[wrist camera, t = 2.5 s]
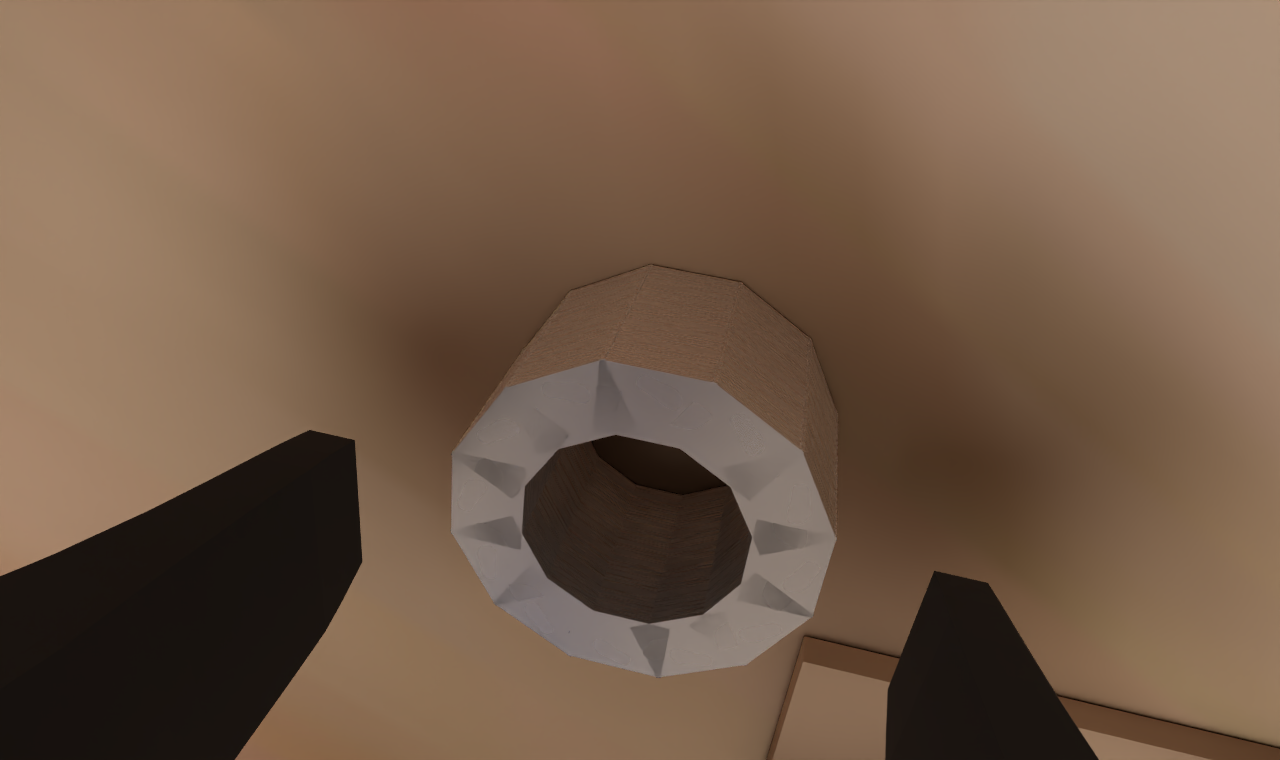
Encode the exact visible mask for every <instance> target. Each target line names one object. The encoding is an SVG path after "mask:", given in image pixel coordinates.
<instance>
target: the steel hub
mask: <svg viewBox="0 0 1280 760" xmlns="http://www.w3.org/2000/svg"><path fill="white" fill-rule="evenodd" d="M612 435H619V436H624V437H629V438H633V439H638V440H643V441H647V442H652V443H656V444H661V445H666V446H670V447H675V448H680V449H681V450H682V451H684V452H685V453H686V454H688V455H689V456H690V457H691V458H693V459H694V460H695V461H697V462H698V463H699V464H701V465H702V466H703V467H705V468H706V469H707V470H709V471H710V472H711V473H713V474H714V475H715V476H717V477H718V478H719V479H720V480H722V481H723V482H724V483H726V484H727V486H723V487H718V488H714V489H709V490H705V491H700V492H696V493H691V494H687V495H679V494H674V493H670V492H665V491H661V490H656V489H652V488H647V487H643V486H638V485H636V484H634V483H633V482H632V481H630V480H629V479H628V478H626V477H625V476H624V475H622V474H621V473H619V472H618V471H617V470H615V469H614V468H613V467H611V466H610V465H609V464H607V463H606V462H605V461H603V460H602V459H601V458H599V457H598V455H597V453H596V451H595V449H594V447H593V444H592V442H591V441H592V440H596V439H600V438H604V437H608V436H612ZM451 455H452V510H451V530H450V531H451V534H453V536H454V537H455V539H456V541H457V542H458V544H459V546H460V547H461V549H462V551H463V552H464V554H465V555H466V557H467V559H468V560H469V562H470V564H471V565H472V567H473V569H474V570H475V572H476V574H477V575H478V577H479V579H480V580H481V582H482V584H483V585H484V587H485V589H486V590H487V592H488V594H489V595H490V597H491V598H492V600H493V603H494V604H495V605H497V606H499V607H500V608H501V609H503V610H504V611H506V612H507V613H509V614H510V615H511V616H513V617H514V618H516V619H517V620H519V621H520V622H522V623H523V624H524V625H526V626H527V627H529V628H530V629H532V630H533V631H535V632H536V633H537V634H539V635H540V636H542V637H543V638H545V639H546V640H548V641H549V642H550V643H552V644H553V645H555V646H556V647H558V648H559V649H561V650H562V651H563V652H565V653H566V654H567V655H569V656H574V657H578V658H582V659H586V660H590V661H594V662H598V663H602V664H606V665H610V666H614V667H618V668H622V669H626V670H630V671H634V672H638V673H642V674H646V675H651V676H655V677H656V678H658V677H659V678H661V677H665V676H672V675H679V674H686V673H693V672H700V671H707V670H714V669H721V668H728V667H735V666H742V665H744V666H745V665H748V663H749V662H751V661H752V660H753V659H755V658H756V657H758V656H759V655H760V654H762V653H763V652H764V651H766V650H767V649H769V648H770V647H771V646H773V645H774V644H775V643H777V642H778V641H779V640H781V639H782V638H784V637H785V636H786V635H788V634H789V633H790V632H792V631H793V630H795V629H796V628H797V627H799V626H800V625H801V624H803V623H804V622H806V621H807V620H808V619H810V618H812V616H814V610H815V606H816V603H817V600H818V597H819V593H820V590H821V587H822V584H823V580H824V577H825V574H826V571H827V567H828V564H829V561H830V558H831V554H832V551H833V548H834V545H835V541H837V482H838V412H837V411H836V408H835V405H834V403H833V400H832V397H831V394H830V391H829V389H828V386H827V383H826V380H825V377H824V375H823V372H822V369H821V366H820V364H819V361H818V358H817V355H816V352H815V350H814V347H813V344H812V339H810V337H808V336H807V335H805V334H804V333H803V332H802V331H800V330H799V329H798V328H797V327H796V326H794V325H793V324H792V323H791V322H789V321H788V320H787V319H786V318H784V317H783V316H782V315H781V314H780V313H778V312H777V311H776V310H775V309H773V308H772V307H771V306H770V305H768V304H767V303H766V302H765V301H763V300H762V299H761V298H760V297H759V296H757V295H756V294H755V293H754V292H752V291H751V290H750V289H749V288H747V287H746V286H745V285H744V284H743V282H740V281H739V282H737V281H732V280H727V279H722V278H717V277H711V276H706V275H701V274H696V273H691V272H686V271H680V270H675V269H670V268H665V267H660V266H654V265H653V264H651V265H649V264H648V266H645V267H642V268H639V269H636V270H633V271H630V272H627V273H624V274H621V275H618V276H615V277H612V278H608V279H605V280H602V281H599V282H596V283H593V284H590V285H587V286H584V287H581V288H578V289H575V290H571V291H569V292H568V293H567V295H566V296H565V298H564V299H563V301H562V302H561V303H560V305H559V306H558V307H557V308H556V310H555V311H554V312H553V313H552V315H551V316H550V317H549V318H548V320H547V321H546V322H545V323H544V325H543V326H542V327H541V328H540V330H539V331H538V332H537V333H536V335H535V336H534V337H533V338H532V340H531V341H530V342H529V343H528V345H527V346H526V347H524V348H523V350H522V351H521V353H520V354H519V355H518V357H517V358H516V360H515V361H514V363H513V364H512V366H511V367H510V368H509V370H508V371H507V373H506V374H505V376H504V377H503V379H502V380H501V381H500V383H499V384H498V386H497V387H496V389H495V390H494V392H493V393H492V394H491V396H490V397H489V399H488V400H487V402H486V403H485V405H484V406H483V407H482V409H481V410H480V412H479V413H478V415H477V416H476V418H475V419H474V420H473V422H472V423H471V425H470V426H469V428H468V429H467V431H466V432H465V433H464V435H463V436H462V438H461V439H460V441H459V442H458V444H457V445H456V446H455V448H454V449H453V451H452V454H451Z"/></svg>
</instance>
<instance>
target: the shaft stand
mask: <svg viewBox="0 0 1280 760" xmlns="http://www.w3.org/2000/svg"><path fill="white" fill-rule="evenodd" d="M898 662H899V659H898V658H894V657H890V656H886V655H882V654H877V653H873V652H869V651H865V650H860V649H856V648H852V647H848V646H844V645H839V644H835V643H831V642H827V641H823V640H818V639H814V638H810V637H806V636H804V639H803V642H802V646H801V649H800V652H799V655H798V659H797V662H796V665H795V668H794V672H793V675H792V678H791V682H790V685H789V688H788V691H787V695H786V698H785V701H784V704H783V708H782V711H781V714H780V718H779V721H778V724H777V727H776V731H775V734H774V737H773V740H772V744H771V747H770V750H769V753H768V757H767V760H885V750H886V718H887V693H888V687H889V684H890V682H891V679H892V677H893V674H894V672H895V669H896V667H897V664H898ZM1058 698H1059V699H1060V701H1061V703H1062V704H1063V706H1064V707H1065V709H1066V710H1067V712H1068V713H1069V715H1070V716H1071V718H1072V719H1073V721H1074V722H1075V724H1076V726H1077V727H1078V729H1079V730H1080V732H1081V733H1082V735H1083V736H1084V738H1085V739H1086V741H1087V742H1088V744H1089V745H1090V747H1091V748H1092V750H1093V751H1094V753H1095V754H1096V756H1097V757H1098V759H1099V760H1280V749H1278V748H1274V747H1270V746H1266V745H1261V744H1257V743H1253V742H1249V741H1245V740H1240V739H1236V738H1232V737H1228V736H1223V735H1219V734H1215V733H1211V732H1207V731H1202V730H1198V729H1194V728H1190V727H1185V726H1181V725H1177V724H1173V723H1169V722H1164V721H1160V720H1156V719H1152V718H1147V717H1143V716H1139V715H1135V714H1131V713H1126V712H1122V711H1118V710H1114V709H1109V708H1105V707H1101V706H1097V705H1093V704H1088V703H1084V702H1080V701H1076V700H1072V699H1067V698H1063V697H1059V696H1058Z"/></svg>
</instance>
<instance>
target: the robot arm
mask: <svg viewBox="0 0 1280 760" xmlns="http://www.w3.org/2000/svg"><path fill="white" fill-rule="evenodd" d="M361 563H362V549H361V533H360V517H359V501H358V485H357V468H356V452H355V440H352V439H347V438H343V437H338V436H334V435H330V434H325V433H321V432H316V431H312V430H309V431H307V432H305V433H302V434H300V435H298V436H296V437H293V438H291V439H289V440H287V441H285V442H283V443H281V444H279V445H277V446H275V447H273V448H271V449H269V450H267V451H265V452H263V453H261V454H259V455H257V456H255V457H253V458H252V459H250V460H248V461H246V462H244V463H242V464H240V465H238V466H236V467H234V468H232V469H230V470H228V471H226V472H224V473H222V474H221V475H219V476H217V477H215V478H213V479H211V480H209V481H207V482H205V483H203V484H201V485H199V486H197V487H195V488H193V489H191V490H189V491H187V492H185V493H183V494H181V495H179V496H177V497H175V498H173V499H171V500H169V501H167V502H165V503H163V504H161V505H159V506H157V507H155V508H153V509H151V510H149V511H147V512H145V513H143V514H141V515H138V516H136V517H134V518H132V519H130V520H127V521H125V522H123V523H121V524H119V525H117V526H114V527H112V528H110V529H108V530H106V531H104V532H101V533H99V534H97V535H95V536H93V537H90V538H88V539H86V540H84V541H82V542H80V543H77V544H75V545H73V546H71V547H69V548H66V549H64V550H62V551H60V552H58V553H56V554H53V555H51V556H48V557H46V558H44V559H41V560H39V561H37V562H34V563H32V564H30V565H27V566H25V567H22V568H20V569H17V570H15V571H12V572H10V573H7V574H5V575H2V576H0V760H235V758H236V757H237V756H238V754H239V753H240V751H241V750H242V749H243V747H244V746H245V744H246V743H247V742H248V740H249V739H250V737H251V736H252V735H253V733H254V732H255V730H256V729H257V728H258V726H259V725H260V723H261V722H262V721H263V719H264V718H265V716H266V715H267V714H268V712H269V711H270V709H271V708H272V707H273V705H274V704H275V702H276V701H277V700H278V698H279V697H280V695H281V694H282V693H283V691H284V690H285V688H286V687H287V686H288V684H289V683H290V681H291V680H292V678H293V677H294V676H295V674H296V673H297V671H298V670H299V669H300V667H301V666H302V664H303V663H304V661H305V660H306V659H307V657H308V656H309V654H310V653H311V651H312V650H313V649H314V647H315V646H316V644H317V643H318V641H319V640H320V638H321V637H322V635H323V634H324V633H325V631H326V629H327V628H328V626H329V624H330V622H331V620H332V618H333V617H334V615H335V613H336V611H337V609H338V608H339V606H340V604H341V602H342V600H343V598H344V596H345V595H346V593H347V591H348V589H349V587H350V585H351V583H352V581H353V579H354V577H355V575H356V573H357V571H358V569H359V567H360V565H361ZM885 760H1099V759H1098V757H1097V756H1096V754H1095V753H1094V751H1093V750H1092V748H1091V747H1090V745H1089V744H1088V742H1087V741H1086V739H1085V738H1084V736H1083V735H1082V733H1081V732H1080V730H1079V729H1078V727H1077V726H1076V724H1075V722H1074V721H1073V719H1072V718H1071V716H1070V715H1069V713H1068V712H1067V710H1066V709H1065V707H1064V706H1063V704H1062V703H1061V701H1060V699H1059V698H1058V696H1057V695H1056V693H1055V692H1054V690H1053V688H1052V687H1051V685H1050V684H1049V682H1048V680H1047V679H1046V677H1045V675H1044V674H1043V672H1042V671H1041V669H1040V667H1039V666H1038V664H1037V663H1036V661H1035V659H1034V658H1033V656H1032V654H1031V653H1030V651H1029V649H1028V648H1027V646H1026V645H1025V643H1024V641H1023V640H1022V638H1021V636H1020V635H1019V633H1018V631H1017V630H1016V628H1015V626H1014V625H1013V623H1012V621H1011V620H1010V618H1009V616H1008V615H1007V613H1006V611H1005V610H1004V608H1003V606H1002V605H1001V603H1000V602H999V600H998V598H997V597H996V595H995V594H994V592H993V590H992V589H991V587H990V586H989V584H988V583H986V582H981V581H977V580H972V579H968V578H963V577H959V576H955V575H950V574H946V573H941V572H937V571H934V573H933V576H932V578H931V581H930V583H929V586H928V588H927V591H926V593H925V596H924V598H923V601H922V603H921V606H920V609H919V611H918V614H917V616H916V619H915V621H914V624H913V626H912V629H911V631H910V634H909V636H908V639H907V641H906V644H905V646H904V649H903V652H902V654H901V657H900V659H899V662H898V664H897V667H896V669H895V672H894V674H893V677H892V679H891V682H890V684H889V687H888V693H887V718H886V750H885Z"/></svg>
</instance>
